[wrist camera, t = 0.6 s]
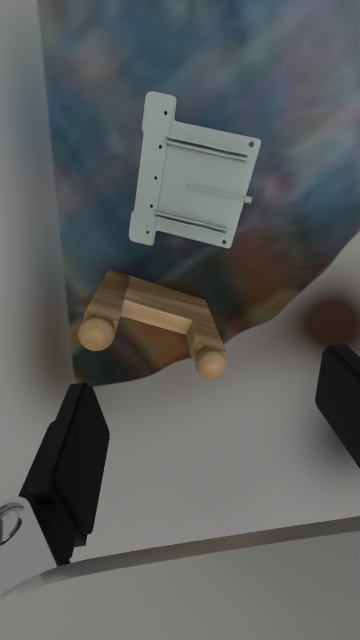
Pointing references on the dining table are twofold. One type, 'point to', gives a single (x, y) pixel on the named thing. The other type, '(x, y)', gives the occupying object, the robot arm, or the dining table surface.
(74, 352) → the dining table surface
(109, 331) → the headboard
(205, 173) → the metal bracket
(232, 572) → the robot arm
